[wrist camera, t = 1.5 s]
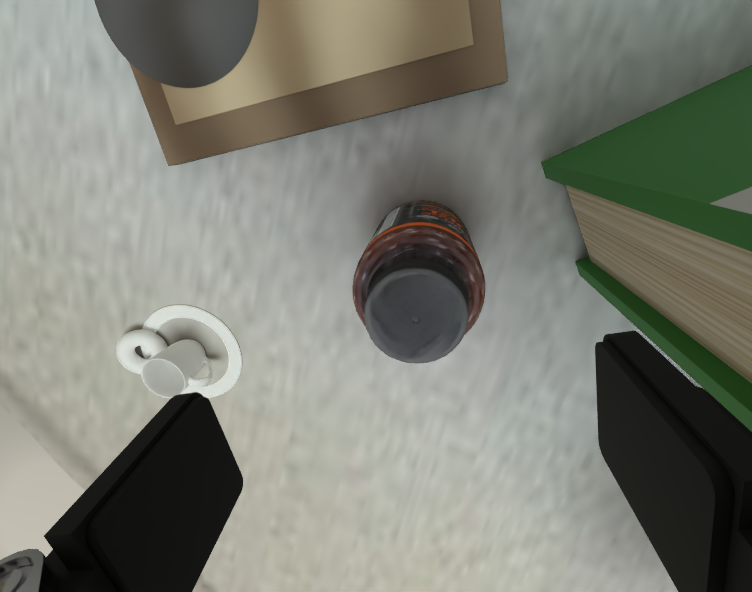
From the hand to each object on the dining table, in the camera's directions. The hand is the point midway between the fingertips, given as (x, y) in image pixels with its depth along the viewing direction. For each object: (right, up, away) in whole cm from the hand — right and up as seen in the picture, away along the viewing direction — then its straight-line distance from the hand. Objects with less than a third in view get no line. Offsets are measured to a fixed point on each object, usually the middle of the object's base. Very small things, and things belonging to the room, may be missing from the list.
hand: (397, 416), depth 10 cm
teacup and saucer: (-16, +1, +21) cm, 26 cm away
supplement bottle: (+2, +6, +16) cm, 18 cm away
